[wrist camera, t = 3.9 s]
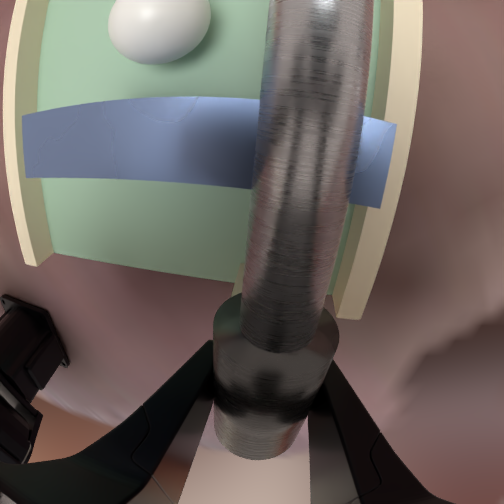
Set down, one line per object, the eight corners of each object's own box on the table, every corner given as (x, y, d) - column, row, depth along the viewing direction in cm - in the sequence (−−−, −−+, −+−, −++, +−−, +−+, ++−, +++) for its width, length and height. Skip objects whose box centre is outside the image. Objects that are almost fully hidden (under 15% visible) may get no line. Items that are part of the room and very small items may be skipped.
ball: (133, 71, 9) (81, 67, 6) (142, -1, 7) (96, -26, 4) (216, 68, 9) (186, 53, 6) (225, -10, 7) (201, -48, 4)
